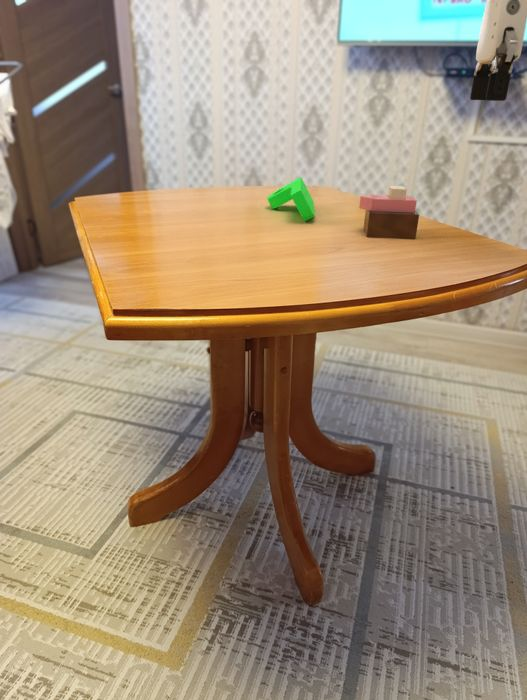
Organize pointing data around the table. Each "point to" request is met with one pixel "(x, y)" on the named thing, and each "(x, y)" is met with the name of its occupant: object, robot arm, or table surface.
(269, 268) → the table surface
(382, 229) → the block
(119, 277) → the table surface
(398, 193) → the boat
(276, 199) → the bracket
